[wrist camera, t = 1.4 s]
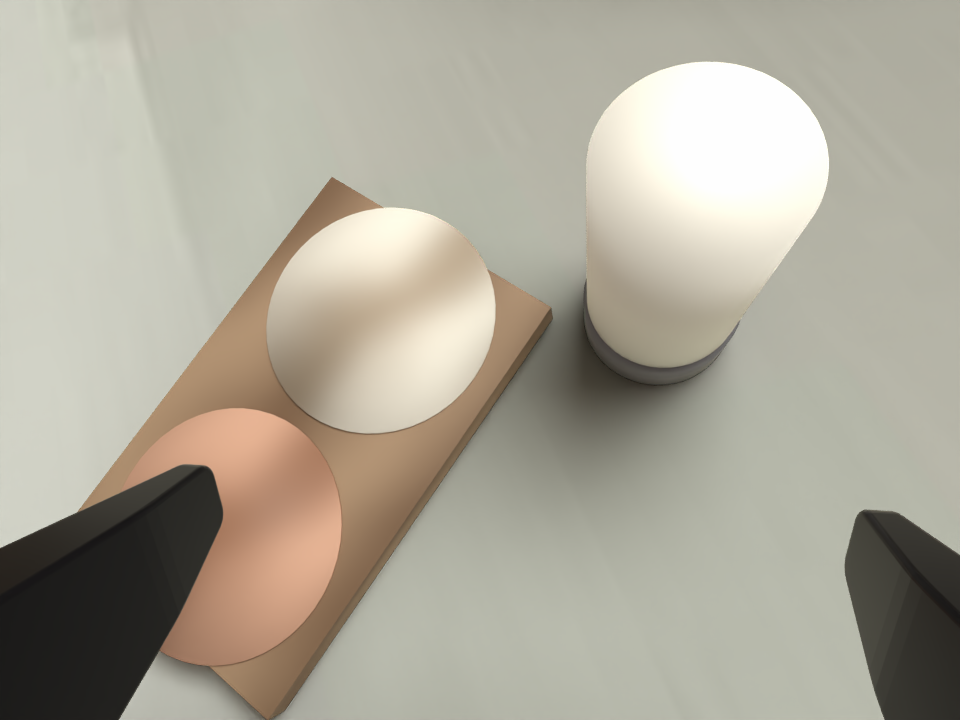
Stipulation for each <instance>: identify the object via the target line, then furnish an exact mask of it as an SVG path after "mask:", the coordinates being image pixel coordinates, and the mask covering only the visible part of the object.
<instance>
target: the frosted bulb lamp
mask: <svg viewBox="0 0 960 720" xmlns="http://www.w3.org/2000/svg"><path fill="white" fill-rule="evenodd" d="M828 173H829V157H828V150H827V144H826V141H825V138H824V134H823V132H822V129H821V127H820V125H819V123H818V121H817V119H816V118H815V116H814V115H813V113H812V111H811V110H810V108H809V107H808V106H807V105H806V104H805V103H804V102H803V100H802V99H801V98H800V97H799V96H798V95H796V94H795V93H794V92H793V91H792V90H791V89H790V88H788V87H787V86H785V85H784V84H782V83H781V82H779V81H778V80H776V79H774V78H772V77H770V76H768V75H766V74H764V73H762V72H759V71H757V70H754V69H751V68H748V67H744V66H740V65H736V64H729V63H722V62H697V63H688V64H682V65H677V66H673V67H670V68H667V69H663V70H660V71H658V72H656V73H653V74H651V75H649V76H646V77H645V78H643V79H641V80H640V81H638V82H636V83H634V84H633V85H632V86H630V87H629V88H628V89H626V90H625V91H624V92H622V93H621V94H620V95H619V96H618V97H617V98H616V99H615V100H614V101H613V102H612V103H611V104H610V106H609V107H608V108H607V109H606V111H605V112H604V113H603V115H602V117H601V118H600V120H599V121H598V123H597V125H596V127H595V129H594V132H593V134H592V136H591V140H590V143H589V147H588V152H587V160H586V232H587V278H586V282H585V287H584V324H585V330H586V334H587V337H588V340H589V342H590V344H591V346H592V348H593V350H594V351H595V353H596V354H597V356H598V357H599V358H600V359H601V360H602V362H603V363H604V364H606V365H607V366H608V367H609V368H610V369H611V370H613V371H614V372H616V373H617V374H619V375H621V376H623V377H625V378H627V379H629V380H632V381H635V382H639V383H643V384H650V385H667V384H674V383H678V382H682V381H685V380H687V379H689V378H692V377H694V376H696V375H697V374H699V373H701V372H702V371H703V370H705V369H706V368H707V367H709V366H710V365H711V364H712V362H713V361H714V360H715V359H716V358H717V357H718V355H719V354H720V353H721V351H722V350H723V348H724V347H725V346H726V344H727V343H728V342H729V340H730V339H731V337H732V336H733V334H734V333H735V331H736V329H737V327H738V325H739V322H740V319H741V318H742V316H743V315H744V313H745V312H746V311H747V309H748V308H749V306H750V305H751V303H752V302H753V301H754V299H755V298H756V296H757V295H758V294H759V292H760V291H761V289H762V288H763V286H764V285H765V284H766V282H767V281H768V279H769V278H770V277H771V275H772V274H773V272H774V271H775V269H776V268H777V267H778V265H779V264H780V262H781V261H782V260H783V258H784V257H785V255H786V254H787V253H788V251H789V250H790V248H791V247H792V245H793V244H794V243H795V241H796V240H797V238H798V237H799V236H800V234H801V233H802V231H803V230H804V228H805V227H806V226H807V224H808V223H809V221H810V220H811V219H812V217H813V216H814V214H815V212H816V210H817V208H818V207H819V205H820V203H821V201H822V198H823V195H824V192H825V189H826V185H827V180H828Z"/></svg>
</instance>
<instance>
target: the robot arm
mask: <svg viewBox="0 0 960 720" xmlns="http://www.w3.org/2000/svg"><path fill="white" fill-rule="evenodd" d="M222 521H223V506H222V502H221V499H220V495H219V491H218V488H217V484H216V480H215V477H214V473H213V471H212V470H211V469H210V468H209V467H208V466H205V465H194V464H182V465H179V466H176V467H174V468H172V469H170V470H168V471H166V472H163V473H161V474H159V475H157V476H155V477H153V478H150V479H148V480H146V481H144V482H142V483H140V484H138V485H135V486H133V487H131V488H129V489H127V490H125V491H122V492H120V493H118V494H116V495H114V496H112V497H109V498H107V499H105V500H103V501H101V502H99V503H97V504H94V505H92V506H90V507H88V508H86V509H84V510H81V511H79V512H77V513H75V514H73V515H71V516H68V517H66V518H64V519H62V520H60V521H58V522H56V523H53V524H51V525H49V526H47V527H45V528H43V529H40V530H38V531H36V532H34V533H32V534H30V535H27V536H25V537H23V538H21V539H19V540H17V541H15V542H12V543H10V544H8V545H6V546H4V547H2V548H0V720H119V719H120V717H121V715H122V713H123V712H124V710H125V708H126V707H127V705H128V703H129V702H130V700H131V698H132V696H133V695H134V693H135V691H136V690H137V688H138V686H139V684H140V683H141V681H142V679H143V678H144V676H145V674H146V672H147V671H148V669H149V667H150V666H151V664H152V662H153V661H154V659H155V657H156V655H157V654H158V652H159V650H160V649H161V647H162V645H163V643H164V642H165V640H166V638H167V637H168V635H169V633H170V631H171V630H172V628H173V626H174V624H175V623H176V621H177V619H178V617H179V615H180V613H181V611H182V609H183V607H184V605H185V603H186V601H187V599H188V597H189V595H190V593H191V590H192V588H193V586H194V584H195V582H196V580H197V577H198V575H199V573H200V571H201V569H202V567H203V564H204V562H205V560H206V558H207V556H208V553H209V551H210V549H211V547H212V545H213V543H214V540H215V538H216V536H217V534H218V532H219V529H220V527H221V525H222ZM845 576H846V581H847V585H848V589H849V593H850V597H851V601H852V605H853V609H854V613H855V617H856V621H857V625H858V629H859V633H860V637H861V641H862V645H863V649H864V653H865V657H866V661H867V665H868V669H869V673H870V677H871V680H872V684H873V687H874V691H875V694H876V697H877V700H878V703H879V706H880V708H881V711H882V714H883V717H884V719H885V720H960V555H959V554H958V553H956V552H955V551H953V550H952V549H950V548H949V547H947V546H946V545H944V544H943V543H942V542H940V541H939V540H937V539H936V538H934V537H933V536H931V535H930V534H928V533H927V532H925V531H924V530H923V529H921V528H920V527H918V526H917V525H915V524H914V523H912V522H911V521H909V520H908V519H906V518H905V517H904V516H902V515H900V514H899V513H896V512H893V511H880V510H863V511H861V512H859V514H858V515H857V517H856V519H855V523H854V527H853V531H852V534H851V538H850V542H849V546H848V550H847V554H846V558H845Z"/></svg>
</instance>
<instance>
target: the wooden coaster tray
mask: <svg viewBox="0 0 960 720" xmlns="http://www.w3.org/2000/svg"><path fill="white" fill-rule="evenodd" d="M552 319H553V317H552V310H551V307H550V306H548V305H546V304H545V303H543V302H541V301H540V300H538V299H536V298H535V297H533V296H531V295H530V294H528V293H526V292H524V291H523V290H521V289H519V288H518V287H516V286H514V285H513V284H511V283H509V282H508V281H506V280H504V279H503V278H501V277H499V276H498V275H496V274H494V273H493V272H491V271H489V270H487V268H486V266H485V263H484V261H483V260H482V258H481V256H480V255H479V253H478V252H477V250H476V249H475V248H474V246H473V245H472V244H471V243H470V241H469V240H468V239H467V238H466V237H465V236H464V235H462V234H461V233H460V232H459V231H458V230H457V229H455V228H454V227H452V226H451V225H449V224H448V223H447V222H445V221H443V220H441V219H439V218H437V217H435V216H432V215H429V214H426V213H423V212H421V211H416V210H411V209H405V208H383V207H382V206H380V205H378V204H376V203H375V202H373V201H371V200H370V199H368V198H366V197H365V196H363V195H361V194H360V193H358V192H356V191H355V190H353V189H351V188H350V187H348V186H346V185H345V184H343V183H341V182H339V181H338V180H336V179H334V178H333V177H332V178H331V179H330V180H329V182H328V183H327V184H326V185H325V187H324V188H323V189H322V191H321V192H320V193H319V195H318V196H317V197H316V199H315V200H314V201H313V203H312V204H311V205H310V207H309V208H308V209H307V210H306V212H305V213H304V214H303V216H302V217H301V218H300V220H299V221H298V222H297V224H296V225H295V226H294V228H293V229H292V230H291V232H290V233H289V234H288V235H287V237H286V238H285V239H284V241H283V242H282V243H281V245H280V246H279V247H278V249H277V250H276V251H275V253H274V254H273V255H272V257H271V258H270V259H269V260H268V262H267V263H266V264H265V266H264V267H263V268H262V270H261V271H260V272H259V274H258V275H257V276H256V278H255V279H254V280H253V282H252V283H251V284H250V285H249V287H248V288H247V289H246V291H245V292H244V293H243V295H242V296H241V297H240V299H239V300H238V301H237V303H236V304H235V305H234V307H233V308H232V309H231V311H230V312H229V313H228V314H227V316H226V317H225V318H224V320H223V321H222V322H221V324H220V325H219V326H218V328H217V329H216V330H215V332H214V333H213V334H212V336H211V337H210V338H209V339H208V341H207V342H206V343H205V345H204V346H203V347H202V349H201V350H200V351H199V353H198V354H197V355H196V357H195V358H194V359H193V361H192V362H191V363H190V364H189V366H188V367H187V368H186V370H185V371H184V372H183V374H182V375H181V376H180V378H179V379H178V380H177V382H176V383H175V384H174V386H173V387H172V388H171V389H170V391H169V392H168V393H167V395H166V396H165V397H164V399H163V400H162V401H161V403H160V404H159V405H158V407H157V408H156V409H155V411H154V412H153V413H152V414H151V416H150V417H149V418H148V420H147V421H146V422H145V424H144V425H143V426H142V428H141V429H140V430H139V432H138V433H137V434H136V436H135V437H134V438H133V440H132V441H131V442H130V443H129V445H128V446H127V447H126V449H125V450H124V451H123V453H122V454H121V455H120V457H119V458H118V459H117V461H116V462H115V463H114V465H113V466H112V467H111V468H110V470H109V471H108V472H107V474H106V475H105V476H104V478H103V479H102V480H101V482H100V483H99V484H98V486H97V487H96V488H95V490H94V491H93V492H92V493H91V495H90V496H89V497H88V499H87V500H86V501H85V503H84V504H83V505H82V507H81V508H80V509H79V511H81V510H84V509H86V508H88V507H90V506H92V505H94V504H97V503H99V502H101V501H103V500H105V499H107V498H109V497H112V496H114V495H116V494H118V493H120V492H122V491H125V490H127V489H129V488H131V487H133V486H135V485H138V484H140V483H142V482H144V481H146V480H148V479H150V478H153V477H155V476H157V475H159V474H161V473H163V472H166V471H168V470H170V469H172V468H174V467H176V466H179V465H182V464H194V465H205V466H208V467H209V468H210V469H211V470H212V471H213V473H214V477H215V480H216V484H217V488H218V491H219V495H220V499H221V502H222V506H223V521H222V525H221V527H220V529H219V532H218V534H217V536H216V538H215V540H214V543H213V545H212V547H211V549H210V551H209V553H208V556H207V558H206V560H205V562H204V564H203V567H202V569H201V571H200V573H199V575H198V577H197V580H196V582H195V584H194V586H193V588H192V590H191V593H190V595H189V597H188V599H187V601H186V603H185V605H184V607H183V609H182V611H181V613H180V615H179V617H178V619H177V621H176V623H175V624H174V626H173V628H172V630H171V631H170V633H169V635H168V637H167V638H166V640H165V642H164V643H163V645H162V647H161V649H160V650H159V651H161V652H163V653H164V654H166V655H168V656H170V657H173V658H175V659H178V660H180V661H183V662H187V663H192V664H196V665H208V666H209V667H210V668H211V669H213V670H214V671H215V672H216V673H217V674H218V675H219V676H220V677H221V678H222V679H223V680H224V681H226V682H227V683H228V684H229V685H230V686H231V687H232V688H233V689H234V690H235V691H236V692H237V693H238V694H240V695H241V696H242V697H243V698H244V699H245V700H246V701H247V702H248V703H249V704H250V705H251V706H253V707H254V708H255V709H256V710H257V711H258V712H259V713H260V714H261V715H262V716H263V717H264V718H266V719H267V720H270V719H271V718H273V717H275V716H277V715H278V714H280V713H282V712H283V711H285V710H286V708H287V707H288V705H289V704H290V702H291V701H292V699H293V698H294V696H295V695H296V693H297V692H298V691H299V689H300V688H301V686H302V685H303V683H304V682H305V680H306V679H307V677H308V676H309V674H310V673H311V671H312V670H313V669H314V667H315V666H316V664H317V663H318V661H319V660H320V658H321V657H322V655H323V654H324V652H325V651H326V650H327V648H328V647H329V645H330V644H331V642H332V641H333V639H334V638H335V636H336V635H337V633H338V632H339V630H340V629H341V628H342V626H343V625H344V623H345V622H346V620H347V619H348V617H349V616H350V614H351V613H352V611H353V610H354V609H355V607H356V606H357V604H358V603H359V601H360V600H361V598H362V597H363V595H364V594H365V592H366V591H367V590H368V588H369V587H370V585H371V584H372V582H373V581H374V579H375V578H376V576H377V575H378V573H379V572H380V570H381V569H382V568H383V566H384V565H385V563H386V562H387V560H388V559H389V557H390V556H391V554H392V553H393V551H394V550H395V549H396V547H397V546H398V544H399V543H400V541H401V540H402V538H403V537H404V535H405V534H406V532H407V531H408V529H409V528H410V527H411V525H412V524H413V522H414V521H415V519H416V518H417V516H418V515H419V513H420V512H421V510H422V509H423V508H424V506H425V505H426V503H427V502H428V500H429V499H430V497H431V496H432V494H433V493H434V491H435V490H436V489H437V487H438V486H439V484H440V483H441V481H442V480H443V478H444V477H445V475H446V474H447V472H448V471H449V469H450V468H451V467H452V465H453V464H454V462H455V461H456V459H457V458H458V456H459V455H460V453H461V452H462V450H463V449H464V448H465V446H466V445H467V443H468V442H469V440H470V439H471V437H472V436H473V434H474V433H475V431H476V430H477V428H478V427H479V426H480V424H481V423H482V421H483V420H484V418H485V417H486V415H487V414H488V412H489V411H490V409H491V408H492V407H493V405H494V404H495V402H496V401H497V399H498V398H499V396H500V395H501V393H502V392H503V390H504V389H505V388H506V386H507V385H508V383H509V382H510V380H511V379H512V377H513V376H514V374H515V373H516V371H517V370H518V368H519V367H520V366H521V364H522V363H523V361H524V360H525V358H526V357H527V355H528V354H529V352H530V351H531V349H532V348H533V347H534V345H535V344H536V342H537V341H538V339H539V338H540V336H541V335H542V333H543V332H544V330H545V329H546V327H547V326H548V325H549V323H550V322H551V320H552ZM79 511H78V512H79Z"/></svg>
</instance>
